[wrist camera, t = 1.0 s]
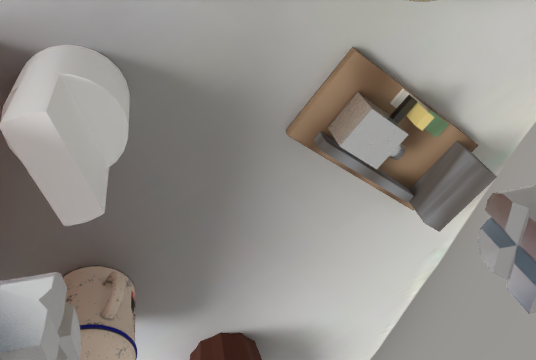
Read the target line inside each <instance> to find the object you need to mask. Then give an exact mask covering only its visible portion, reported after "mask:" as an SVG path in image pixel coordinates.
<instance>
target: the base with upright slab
mask: <svg viewBox="0 0 536 360" xmlns="http://www.w3.org/2000/svg"><path fill="white" fill-rule="evenodd" d="M129 108H130V92H129V89H128V85H127V82H126V80H125V78H124V76H123V75H122V73H121V71H120V70H119V68H118V67H117V66H116V65H114V64H113V63H112V62H111V61H110V60H109V59H108V58H107V57H105V56H103V55H102V54H100V53H98V52H97V51H95V50H92V49H89V48H85V47H82V46H76V45H59V46H53V47H49V48H47V49H44V50H42V51H40V52H38V53H36V54H35V55H34V56H33V57H32V58H31V59H29V60H28V61H27V62H26V64H25V65H24V67H23V69H22V71H21V72H20V74H19V76H18V78H17V80H16V82H15V84H14V86H13V88H12V90H11V92H10V94H9V96H8V98H7V99H6V101H5V103H4V105H3V109H2V115H1V122H0V130H1V131H2V133H3V136H4V138H5V140H6V142H7V144H8V146H9V148H10V149H11V150H12V152H13V153H14V154H15V155H16V156H17V157H18V159H19V160H21V162H22V163H23V165H24V166H25V168H26V169H27V171H28V172H29V174H30V175H31V177H32V178H33V180H34V181H35V183H36V184H37V186H38V187H39V189H40V190H41V192H42V193H43V195H44V196H45V198H46V200H47V201H48V203H49V204H50V206H51V207H52V209H53V210H54V212H55V213H56V215H57V216H58V218H59V219H60V221H61V222H62V224H63V225H64V226H71V225H76V224H81V223H86V222H88V221H90V220H93V219H95V218H97V217H99V216H101V215H103V214H104V213H105V205H106V194H107V184H108V174H109V167H110V166H112V165H113V164H114V163H115V162H117V160H118V159H119V157H120V156H121V155H122V153H123V152H124V150H125V147H126V143H127V140H128V130H129Z"/></svg>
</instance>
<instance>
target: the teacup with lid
mask: <svg viewBox="0 0 536 360" xmlns="http://www.w3.org/2000/svg"><path fill="white" fill-rule="evenodd" d="M63 279H64V282H65V284H66V287H67V293H66V300H65V302H67V303H69V304H71V305H72V306H74V308H75V311H76V314H77V317H78V322H79V326H80V336H81V352H80V360H136V358H137V347H136V345H135V296H136V294H135V288H134V285H133V283H132V282H131V280H130V279H129V278H128V277H127V276H126V275H124V274H123V273H121V272H119V271H117V270H115V269H111V268H107V267H100V266H92V267H84V268H80V269H77V270H74V271H72V272H70V273H68V274H67V275H65V276H64V277H63Z"/></svg>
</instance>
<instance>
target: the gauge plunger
mask: <svg viewBox="0 0 536 360" xmlns="http://www.w3.org/2000/svg"><path fill="white" fill-rule="evenodd" d="M417 102H418V101H417V100H416V99H415V98H413V97H412V96H411V95H408V96H407V97H406V98H405V99H404V101H403V102H402V103H401V104H400V105H399V106H398V107H397V108H396V110H395V111H394V112H393V113H392V114H391V115H389V114H388V113H386V112H385V111H384V110H382V109H381V108H380V107H378V106H377V105H375V104H374V103H373V102H371V101H370V100H368V99H367V98H366V97H364V96H363V95H361V94H360V93H359V92H357V93H356V95H355V96H354V97H353V98H352V99H351V101H350V102H349V103H348V104H347V105H346V107H345V108H344V109H343V110H342V111H341V112H340V114H339V115H338V116H337V117H336V118H335V120H334V121H333V122H332V123H331V124H330V126H329V127H328V129H329V130H330V132H331V134H332V135H333V137H334V138H335V140H336V141H337V143H338V145H339V146H340V147H341V148H343V149H345V150H346V151H348V152H349V153H351V154H353V155H354V156H356V157H357V158H359V159H361V160H362V161H364V162H365V163H367V164H369V165H370V166H372V167H373V168H375V169H378V167H379V166H380V165H381V164H382V163H383V162H384V161H385V160H386V159H387V158H388V157H390V158H391V159H393V160H398V159H400V158H401V157H402V156H403V155H404V153H405V150H406V147H405V145H404V144H402V142H403V140H404V139H405V138H406V137H407V136H408V133H407V132H406V131H405V130H404V129H403V128H402V127H401V126H400V125H399V122H400V121H401V120H402V119H403V118H404V116H405V115H406V114H407V113H408V112H409V111H410V110H411V109H412V108H413V106H414V105H415V104H416V103H417Z"/></svg>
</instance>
